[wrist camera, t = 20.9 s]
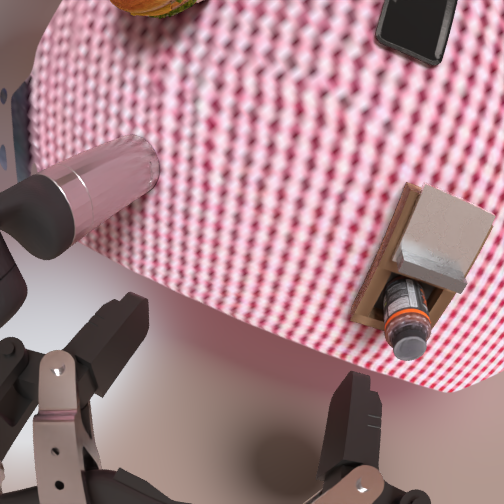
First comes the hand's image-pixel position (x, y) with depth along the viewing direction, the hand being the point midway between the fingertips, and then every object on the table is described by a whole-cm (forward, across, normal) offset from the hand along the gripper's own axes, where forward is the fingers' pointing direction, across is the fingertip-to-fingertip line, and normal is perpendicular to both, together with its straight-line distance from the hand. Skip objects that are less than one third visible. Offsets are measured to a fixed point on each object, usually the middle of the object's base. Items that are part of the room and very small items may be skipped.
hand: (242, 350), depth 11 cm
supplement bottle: (+29, -17, +14) cm, 36 cm away
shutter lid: (+26, -17, +3) cm, 31 cm away
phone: (+30, -7, -23) cm, 38 cm away
